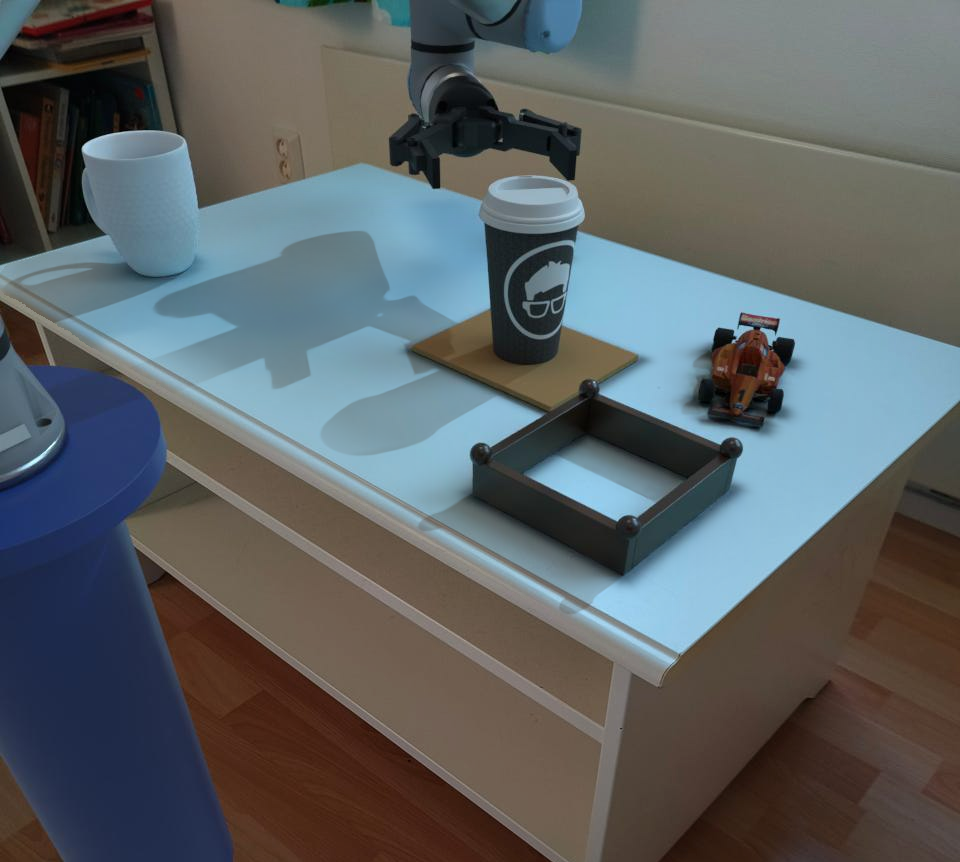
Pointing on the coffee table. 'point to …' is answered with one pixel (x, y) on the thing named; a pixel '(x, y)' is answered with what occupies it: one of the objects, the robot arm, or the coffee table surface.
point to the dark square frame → (581, 524)
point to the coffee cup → (529, 263)
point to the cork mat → (534, 383)
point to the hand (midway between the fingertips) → (505, 169)
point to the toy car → (747, 369)
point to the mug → (144, 198)
